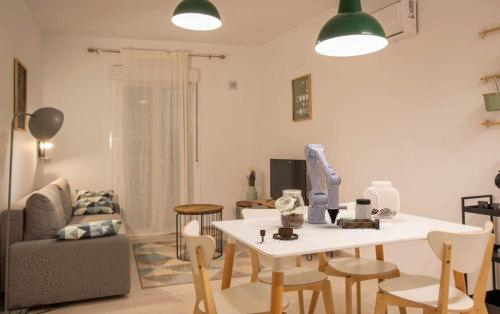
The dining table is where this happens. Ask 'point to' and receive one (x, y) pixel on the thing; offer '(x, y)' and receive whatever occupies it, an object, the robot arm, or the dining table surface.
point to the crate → (346, 220)
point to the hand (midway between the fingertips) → (333, 223)
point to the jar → (363, 209)
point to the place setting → (282, 234)
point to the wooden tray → (360, 224)
